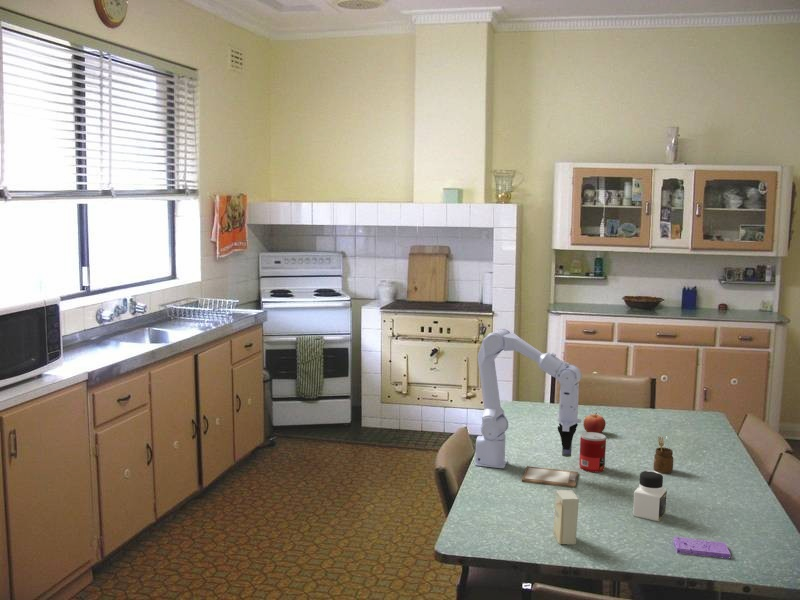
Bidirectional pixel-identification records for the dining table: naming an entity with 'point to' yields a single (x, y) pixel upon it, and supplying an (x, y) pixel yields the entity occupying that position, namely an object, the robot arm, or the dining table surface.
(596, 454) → the canned food
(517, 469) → the dining table surface
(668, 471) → the utensil holder
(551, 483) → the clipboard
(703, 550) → the sponges
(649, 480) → the medicine bottle
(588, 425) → the apple
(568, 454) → the blue cylindrical bottle
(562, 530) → the skincare box
